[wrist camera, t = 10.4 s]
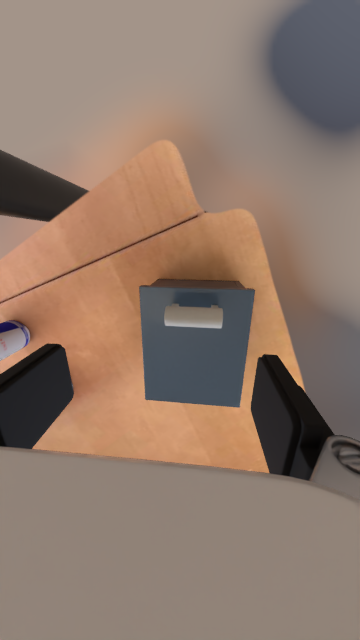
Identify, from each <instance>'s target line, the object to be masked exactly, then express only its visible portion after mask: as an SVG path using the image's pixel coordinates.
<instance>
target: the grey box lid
mask: <svg viewBox="0 0 360 640" xmlns="http://www.w3.org/2000/svg"><path fill="white" fill-rule="evenodd" d="M139 291H140V309H141V327H142V345H143V364H144V382H145V399H146V400H155V401H168V402H180V403H192V404H204V405H216V406H228V407H240V401H241V393H242V386H243V378H244V370H245V363H246V355H247V347H248V340H249V332H250V325H251V317H252V309H253V302H254V294H255V290H254V289H249V288H215V287H182V286H149V285H141V286H140V287H139Z"/></svg>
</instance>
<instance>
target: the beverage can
mask: <svg viewBox="0 0 360 640" xmlns="http://www.w3.org/2000/svg"><path fill="white" fill-rule="evenodd" d="M29 341H30V333H29V330H28V329H27V327H26V326H25V325H23V324H22V323H20V322H18V321H14V320H9V321H5V322H3V323H0V361H1V360H3V359H4V358H6V357H8V356H10V355H11V354H13V353H15V352H17V351H18V350H20V349H22V348H24V347H25V346H26V345H27V344H28V343H29Z"/></svg>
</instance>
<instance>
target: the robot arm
mask: <svg viewBox="0 0 360 640" xmlns="http://www.w3.org/2000/svg"><path fill="white" fill-rule="evenodd" d="M73 395H74V391H73V386H72V381H71V376H70V371H69V366H68V361H67V357H66V352H65V349H64V348H63V347H62V346H61V345H60V344H46V345H44V346H43V347H41V348H39V349H38V350H36V351H35V352H33V353H32V354H30V355H29V356H27V357H26V358H24V359H23V360H21V361H20V362H18V363H17V364H15V365H14V366H12V367H11V368H9V369H8V370H6V371H5V372H3V373H2V374H0V640H360V441H358V440H355V439H353V438H350V437H347V436H343V435H334V434H333V432H332V431H331V429H330V428H329V426H328V425H327V424H326V422H325V420H324V419H323V418H322V416H321V415H320V413H319V412H318V411H317V409H316V408H315V406H314V405H313V403H312V402H311V400H310V399H309V398H308V396H307V395H306V393H305V392H304V390H303V389H302V388H301V387H300V386H298V385H297V383H296V382H295V380H294V379H293V378H292V376H291V375H290V373H289V372H288V370H287V369H286V367H285V366H284V364H283V363H282V361H281V360H280V358H279V357H278V356H277V355H265V354H264V355H263V356H262V357H259V358H258V362H257V369H256V375H255V382H254V388H253V395H252V401H251V412H252V416H253V419H254V422H255V426H256V429H257V432H258V436H259V439H260V442H261V446H262V449H263V452H264V456H265V459H266V462H267V466H268V469H269V472H270V473H264V472H255V471H247V470H238V469H230V468H221V467H213V466H203V465H193V464H183V463H173V462H163V461H153V460H143V459H133V458H122V457H112V456H101V455H91V454H80V453H69V452H58V451H47V450H36V449H32V448H33V446H34V445H35V444H36V443H37V441H38V440H39V439H40V438H41V437H42V435H43V434H44V433H45V432H46V430H47V429H48V428H49V427H50V426H51V424H52V423H53V422H54V421H55V419H56V418H57V417H58V416H59V415H60V413H61V412H62V411H63V410H64V408H65V407H66V406H67V405H68V404H69V402H70V401H71V400H72V398H73Z"/></svg>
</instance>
